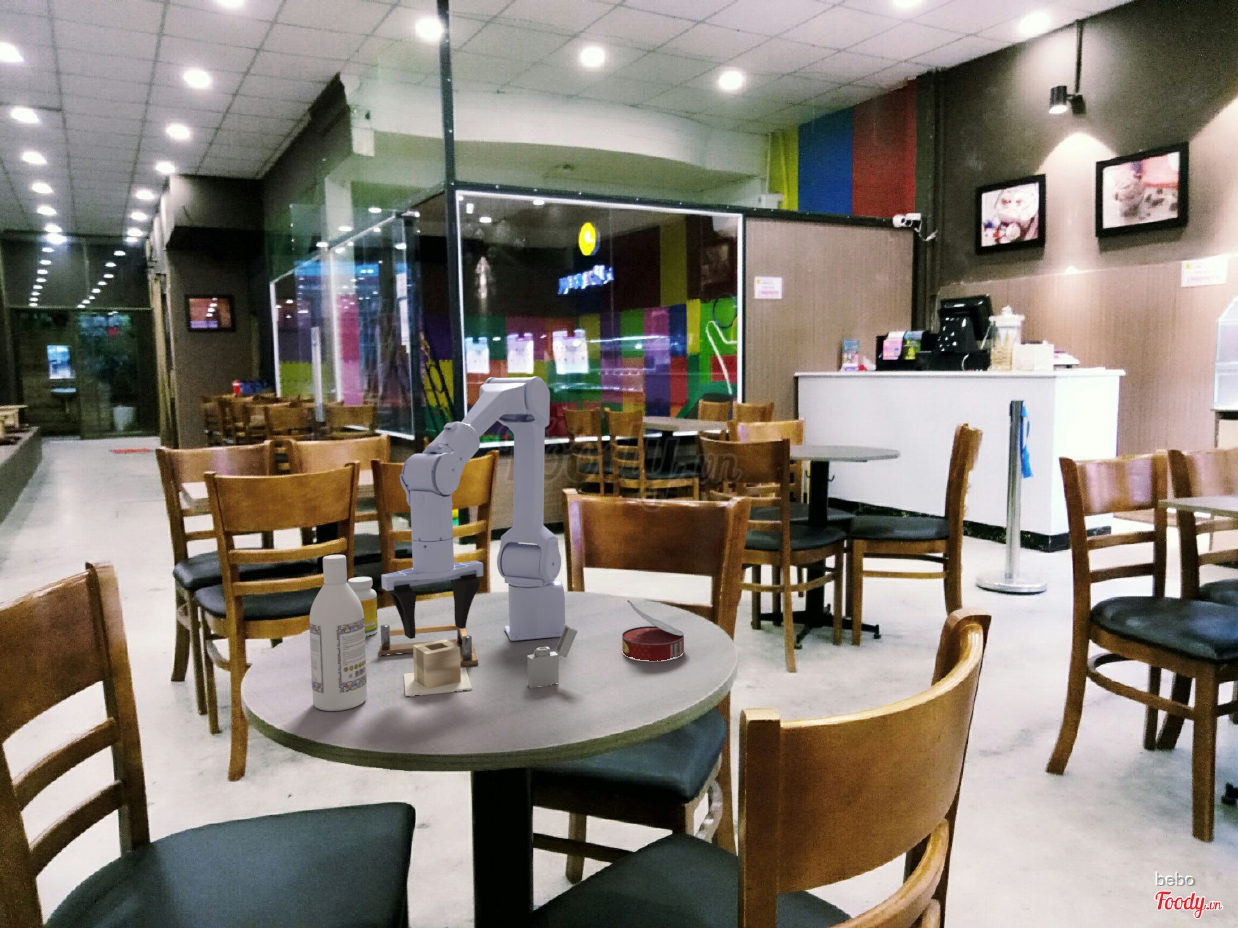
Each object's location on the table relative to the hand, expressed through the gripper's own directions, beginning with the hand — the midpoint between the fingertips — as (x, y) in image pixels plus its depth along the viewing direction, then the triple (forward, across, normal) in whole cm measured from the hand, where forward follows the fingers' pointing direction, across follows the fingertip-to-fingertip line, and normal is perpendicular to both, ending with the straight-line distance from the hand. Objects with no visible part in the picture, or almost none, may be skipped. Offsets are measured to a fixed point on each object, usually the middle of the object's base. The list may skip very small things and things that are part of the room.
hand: (435, 632), depth 119 cm
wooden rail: (+7, -3, -11) cm, 14 cm away
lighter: (+8, -13, +10) cm, 18 cm away
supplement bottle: (+8, +1, -31) cm, 32 cm away
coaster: (+7, 0, 0) cm, 7 cm away
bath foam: (+8, +14, 0) cm, 16 cm away
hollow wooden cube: (+7, 0, 0) cm, 7 cm away
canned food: (+8, -33, +8) cm, 35 cm away
